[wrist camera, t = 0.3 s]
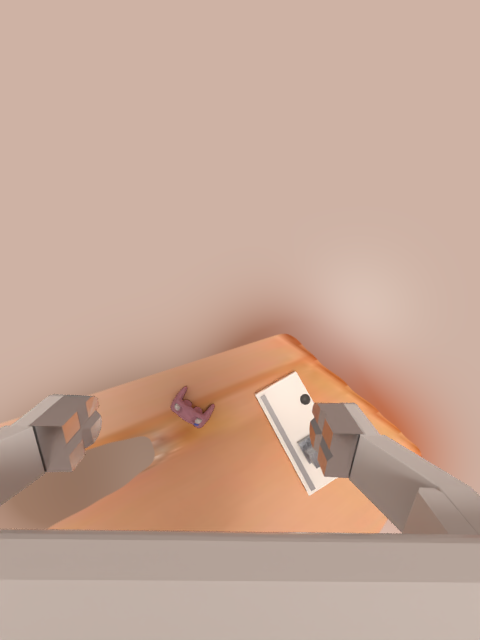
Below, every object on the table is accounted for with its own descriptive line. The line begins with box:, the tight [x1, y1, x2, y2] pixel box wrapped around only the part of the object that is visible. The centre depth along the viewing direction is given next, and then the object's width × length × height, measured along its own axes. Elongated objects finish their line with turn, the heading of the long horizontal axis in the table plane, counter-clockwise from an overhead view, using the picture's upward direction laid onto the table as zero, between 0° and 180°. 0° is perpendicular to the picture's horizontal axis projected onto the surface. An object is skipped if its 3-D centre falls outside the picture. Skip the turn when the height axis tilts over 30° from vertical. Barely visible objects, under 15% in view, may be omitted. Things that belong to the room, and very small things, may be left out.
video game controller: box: [171, 386, 215, 428], centre depth 57 cm, size 10×5×7 cm, turn 58°
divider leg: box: [297, 435, 320, 469], centre depth 53 cm, size 5×7×6 cm
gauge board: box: [255, 371, 338, 496], centre depth 55 cm, size 26×12×8 cm, turn 29°
